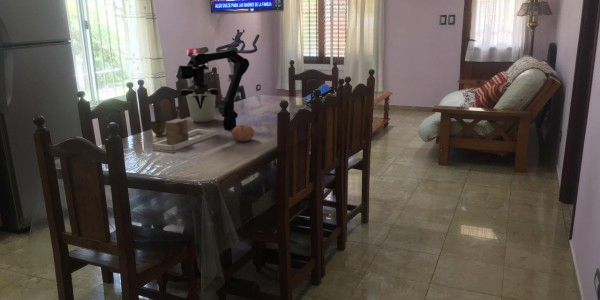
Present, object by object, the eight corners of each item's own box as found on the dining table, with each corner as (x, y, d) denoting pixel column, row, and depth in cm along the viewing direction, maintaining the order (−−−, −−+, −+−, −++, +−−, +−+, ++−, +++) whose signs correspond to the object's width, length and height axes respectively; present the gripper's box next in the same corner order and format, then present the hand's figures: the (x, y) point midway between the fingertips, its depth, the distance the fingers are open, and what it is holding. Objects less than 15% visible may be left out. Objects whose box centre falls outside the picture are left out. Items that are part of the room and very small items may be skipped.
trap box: (198, 135, 244) (197, 129, 243) (216, 137, 239) (216, 130, 238) (153, 151, 217) (152, 143, 216) (173, 153, 212) (172, 146, 211)
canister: (212, 123, 272) (209, 87, 267) (182, 123, 275) (179, 87, 270) (222, 117, 289) (220, 82, 284) (194, 117, 292) (191, 83, 287)
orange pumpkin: (234, 144, 225) (232, 128, 223) (231, 139, 235) (229, 123, 233) (256, 142, 227) (255, 126, 225) (252, 137, 238) (251, 121, 235)
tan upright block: (179, 141, 227) (176, 118, 225) (188, 142, 225) (186, 119, 222) (167, 145, 221) (164, 122, 218) (177, 146, 218) (175, 123, 215)
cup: (169, 135, 248) (168, 120, 246) (161, 138, 241) (159, 123, 239) (157, 134, 250) (155, 119, 248) (149, 137, 243) (147, 122, 241)
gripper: (179, 80, 233) (181, 111, 236) (218, 79, 237) (219, 110, 240) (180, 78, 243) (182, 108, 247) (217, 77, 247) (218, 107, 251)
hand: (200, 108), depth 246 cm, fingers closed
